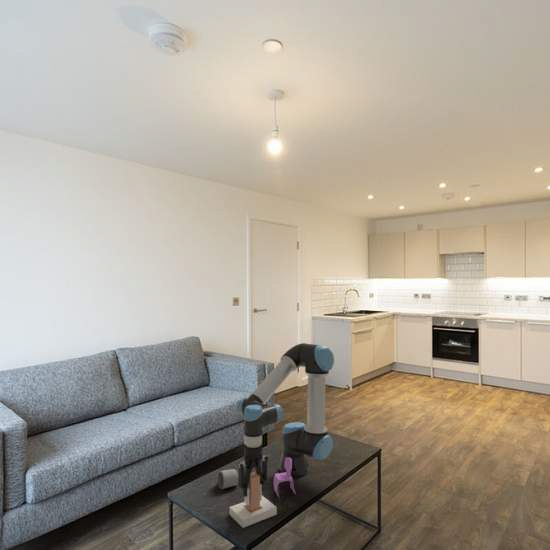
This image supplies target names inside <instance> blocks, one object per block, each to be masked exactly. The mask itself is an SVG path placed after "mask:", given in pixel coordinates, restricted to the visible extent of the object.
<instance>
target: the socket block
mask: <svg viewBox="0 0 550 550" xmlns="http://www.w3.org/2000/svg"><path fill="white" fill-rule="evenodd" d="M277 508H278V507H277V506H276V505H274V504H273V502H271V501H270V500H269V499H267V498H266V497H264V495H262V500H261V501H260V509H259V510H257V511H254V512H252V513H250V512H249V511H248V510H247V509H246V503H245V501H242V502H240V503H237V504H234V505H231V506H229V512H228V513H229V516H230V517H231V518H232V519H233V520H234V521H235V522H237V524H238V525H239V526H240V527H241V528H242V529H243V528H247V527H249V526H251V525H253V524H256V523H259V522H261V521H263V520H267V519H269V518H271V517H274V516H276V515H277V514H278V513H277V512H278V511H277V510H278V509H277Z"/></svg>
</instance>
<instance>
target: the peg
mask: <svg viewBox="0 0 550 550" xmlns="http://www.w3.org/2000/svg"><path fill="white" fill-rule="evenodd" d="M248 488H249V505H247V504H246V509H247V510H248V511H249V512H250V513H252V512H254V511H257V510H259V509H260V476H259V475H258V474H257V473H256V471H254V472H251V475H250V479H249V484H248Z"/></svg>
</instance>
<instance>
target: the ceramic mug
mask: <svg viewBox="0 0 550 550" xmlns="http://www.w3.org/2000/svg"><path fill="white" fill-rule="evenodd" d="M217 481H218V482H217V483H218V486H219V488H220V489H221V490H224V489H228V488H231V487H235V486H238V483H239V471H237V469H234V468H231V469H225V470H219V471H218V473H217Z"/></svg>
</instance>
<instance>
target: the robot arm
mask: <svg viewBox="0 0 550 550" xmlns="http://www.w3.org/2000/svg"><path fill="white" fill-rule="evenodd" d="M334 363H335V357H334V353H333V351H332V350H331V348H330V347H328V346H325V345H322V344H312V343H306V342H304V343H297V344H295V345H293V346H292V347H290V349H288V350H287V351H286V352H284V354H283V355H282V356H281V357H280V361H279V362H278V363H277V365H276V366H275V367H274V368H273V369H272V370H271V371H270V373H269V374H268V375H267V376H266V377H265V378H264V379H263V380H262V381H261V382H260V384H259V385H258V386H257V387H256V388H255V389H254V390H253V392H252V393H251V394H250V395H249V397H248V398H247V397H243V398H241V399H239V400H238V402H237V405H236V411H237V413H238V414H239V415H241V416H243V431H244V432H243V433H244V435H243V440H244V441H243V444H244V446H243V455H244V457H243V460H242V461H241V462H240V461H238V462H237V467H238V475H239V482H238V484H237V486H238V487H239V488H240V489H241V490H242V496H244V502H245V503H246V504H247V505H249V488H248V484H249V479H250V475H251V473H253V472H252V471H253V469H254V468H255V473H257V474H258V475H259V476H260V501H261V500H262V496H263V494H262V493H263V492H262V491H264V485H265V484H266V483H265V482H267V481H268V460H269V456H267V455H265V454H263V428H264V427H267V426H270V425H272V424H276V423H278V422H280V421H281V420H283V417H284V410H283V407H282V406H281V405H280V404H278V403H272V404H267V401H269V399H270V398H271V397H272V396H273V394H274V393H275V392H276V391H277V390H278V388H279V387H281V385H282V383H284V381H285V380H286V379H287V378H288V377H289V375H290V374H291V373H292V372H295V371H296V370H297V369H298V368H300V367H301V368H302V367H303V368H304V372H305V374H306V375H307V410H306V411H307V412H306V413H307V418H306V419H307V421H306V424H305V423H304V422H301V421H300V422H299V421H294V422H289V423H285V424H284V425H283V427H282V433H281V434H282V455H281V457H280V462H279V468H278V469H279V470H278V471H279V472H280V473H284V472H286V469H285V467H284V464H285V458H287V457H289V458H291V459H292V470H291V477H302V476H304V475H305V476H306V475H307V474H308V473H309V472H310V465H309V462H308V459H307V456H308V457H310V458H313V459H314V460H315V459H316V460H321V461H322V460H325V459H326V458H327V457H328V456H329V455H330V453H331V451H332V449H333V444H334V443H333V438H332V436H330V435H329V429H328V427H327V426H326V422H325V421H326V420H325V419H326V376H328V375H329V374H330V371H331V370H332V369H333V367H334Z"/></svg>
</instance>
